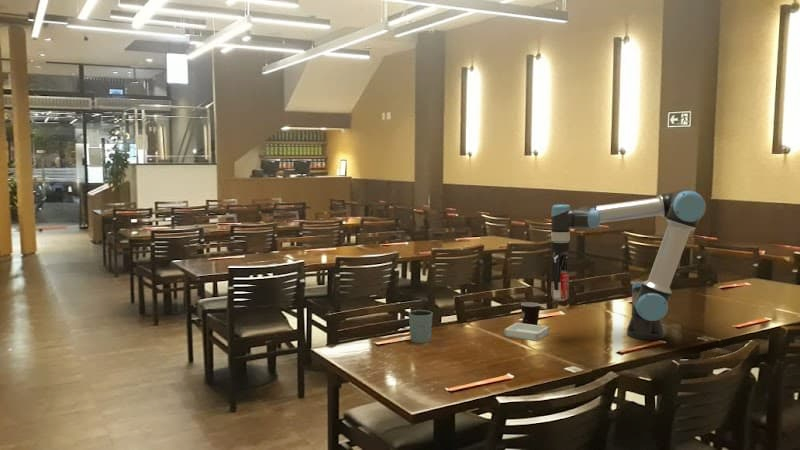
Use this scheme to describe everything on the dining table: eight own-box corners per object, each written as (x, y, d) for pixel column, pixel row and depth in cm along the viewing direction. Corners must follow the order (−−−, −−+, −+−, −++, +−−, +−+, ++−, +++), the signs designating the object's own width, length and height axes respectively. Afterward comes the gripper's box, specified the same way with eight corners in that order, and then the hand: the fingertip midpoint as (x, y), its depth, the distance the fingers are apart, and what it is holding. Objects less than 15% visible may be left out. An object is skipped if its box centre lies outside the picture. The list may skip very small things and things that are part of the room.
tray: (549, 333, 283) (549, 326, 283) (537, 341, 271) (537, 334, 271) (516, 329, 291) (516, 322, 291) (504, 336, 279) (504, 329, 279)
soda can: (549, 298, 276) (549, 270, 275) (565, 297, 277) (565, 269, 275) (554, 301, 269) (554, 272, 268) (570, 300, 270) (571, 272, 268)
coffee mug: (539, 328, 292) (540, 306, 291) (520, 327, 293) (520, 306, 292) (539, 322, 303) (539, 301, 302) (520, 321, 305) (521, 300, 304)
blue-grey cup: (420, 335, 281) (420, 308, 280) (437, 340, 274) (437, 312, 273) (403, 340, 274) (403, 312, 273) (421, 345, 267) (421, 316, 266)
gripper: (559, 238, 281) (559, 290, 283) (543, 243, 264) (543, 299, 266) (576, 239, 277) (576, 292, 279) (561, 244, 260) (560, 301, 262)
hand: (560, 295), depth 273 cm, fingers closed on soda can, 7 cm apart
